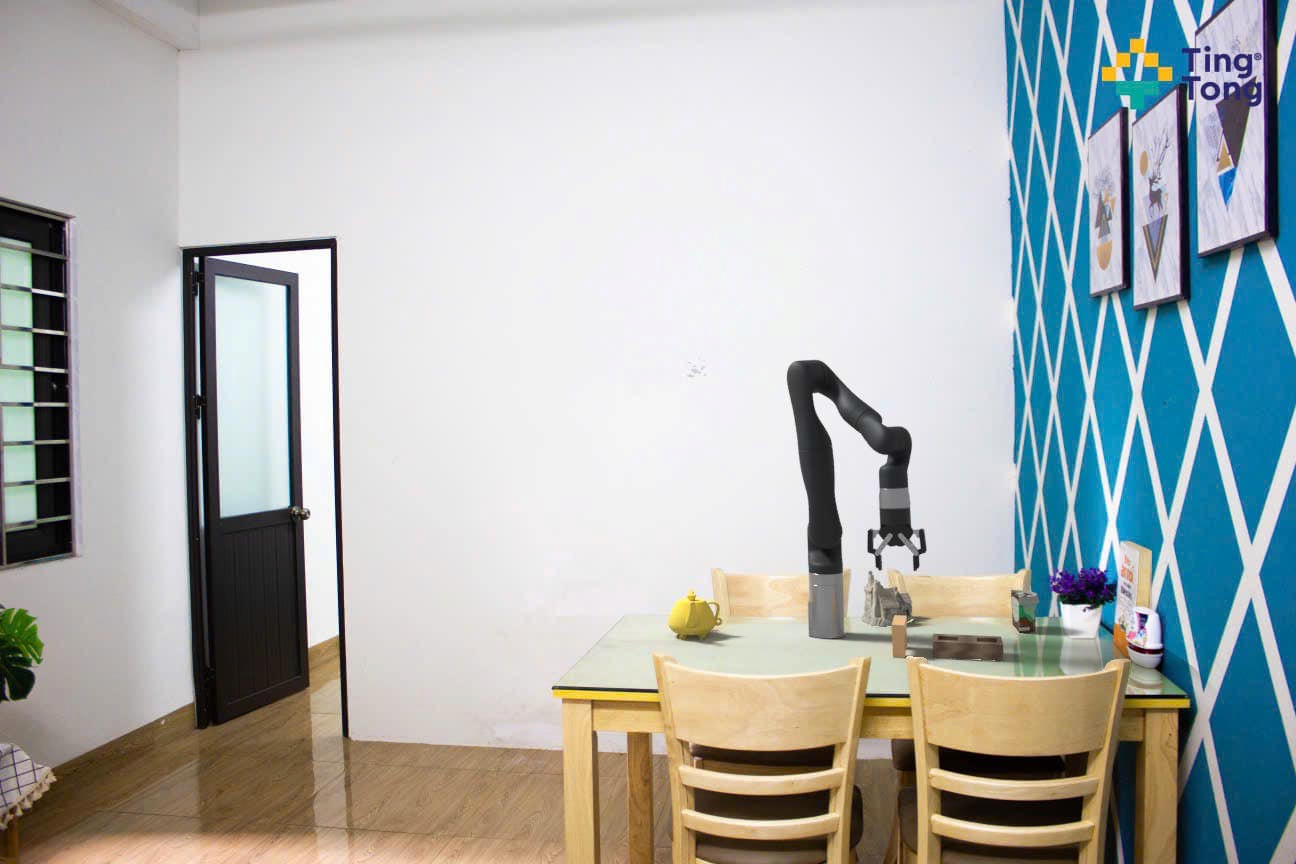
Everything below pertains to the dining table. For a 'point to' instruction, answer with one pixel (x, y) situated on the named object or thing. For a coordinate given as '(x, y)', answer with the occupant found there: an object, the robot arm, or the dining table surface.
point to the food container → (1024, 610)
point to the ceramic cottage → (884, 604)
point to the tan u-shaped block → (899, 635)
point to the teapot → (693, 617)
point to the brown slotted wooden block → (968, 647)
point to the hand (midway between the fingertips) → (897, 570)
